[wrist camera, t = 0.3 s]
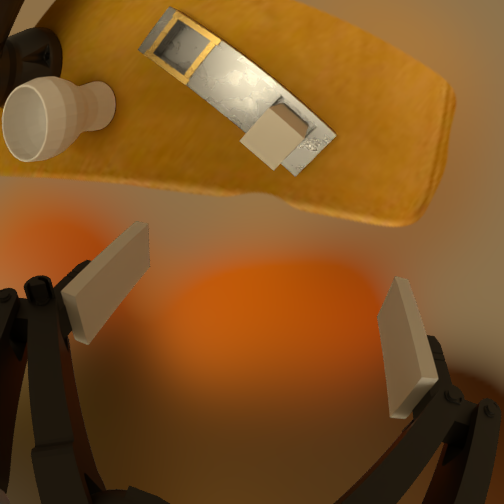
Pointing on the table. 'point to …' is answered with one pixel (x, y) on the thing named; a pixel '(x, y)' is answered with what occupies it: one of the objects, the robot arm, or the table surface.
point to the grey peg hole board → (229, 80)
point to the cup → (53, 115)
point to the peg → (275, 134)
